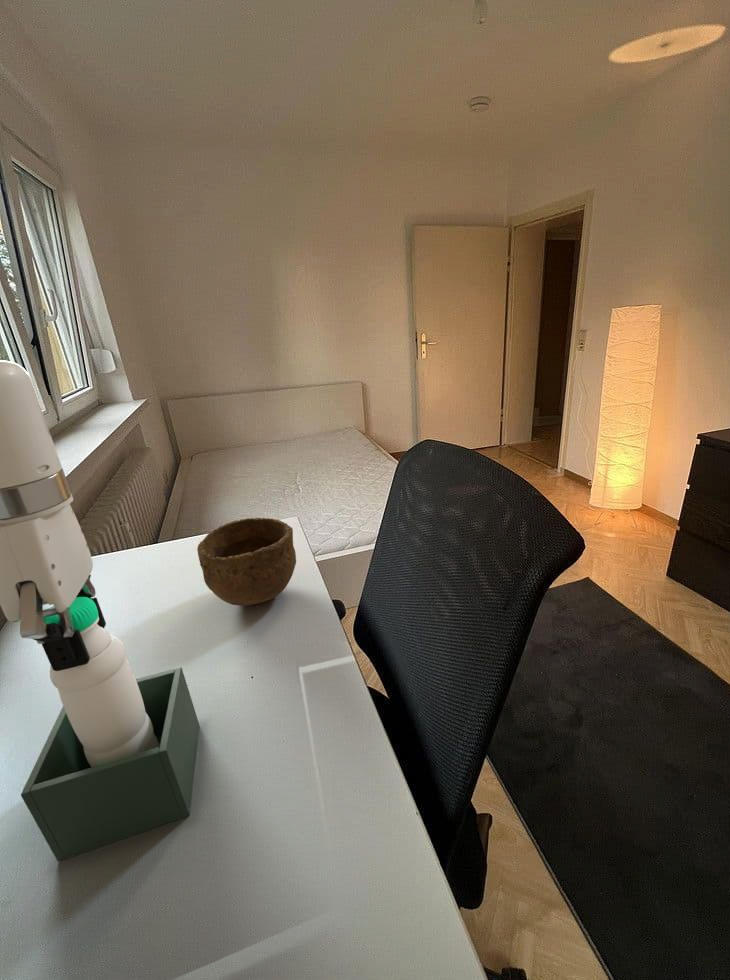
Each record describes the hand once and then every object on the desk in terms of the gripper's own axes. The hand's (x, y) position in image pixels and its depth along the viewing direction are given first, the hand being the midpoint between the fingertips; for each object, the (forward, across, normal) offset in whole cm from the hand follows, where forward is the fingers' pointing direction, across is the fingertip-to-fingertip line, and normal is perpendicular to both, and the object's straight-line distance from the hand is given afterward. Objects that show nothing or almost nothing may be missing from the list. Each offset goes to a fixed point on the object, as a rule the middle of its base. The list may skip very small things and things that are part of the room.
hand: (81, 645), depth 49 cm
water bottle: (+20, 0, 0) cm, 20 cm away
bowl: (+22, -38, +16) cm, 47 cm away
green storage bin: (+22, 0, 0) cm, 22 cm away
